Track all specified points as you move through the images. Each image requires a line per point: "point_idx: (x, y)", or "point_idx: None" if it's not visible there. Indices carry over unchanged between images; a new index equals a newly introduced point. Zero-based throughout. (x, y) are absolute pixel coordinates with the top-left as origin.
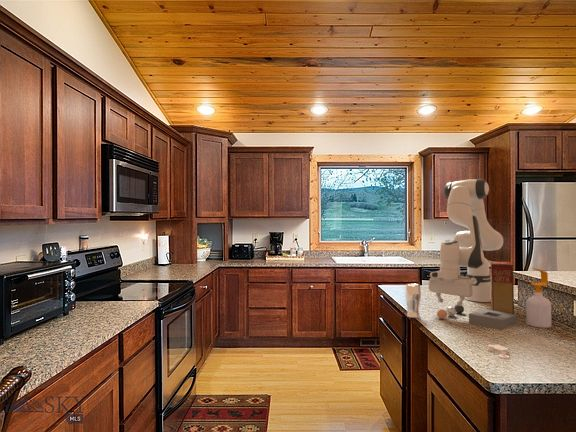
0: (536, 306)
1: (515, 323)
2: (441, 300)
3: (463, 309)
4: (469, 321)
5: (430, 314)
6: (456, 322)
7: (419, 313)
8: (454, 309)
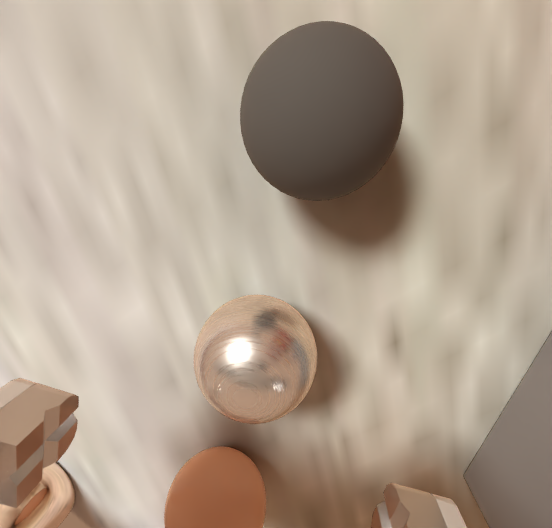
0: None
1: None
2: (43, 458)
3: (394, 144)
4: (475, 492)
5: (83, 357)
6: (359, 500)
7: (43, 516)
8: (304, 390)
